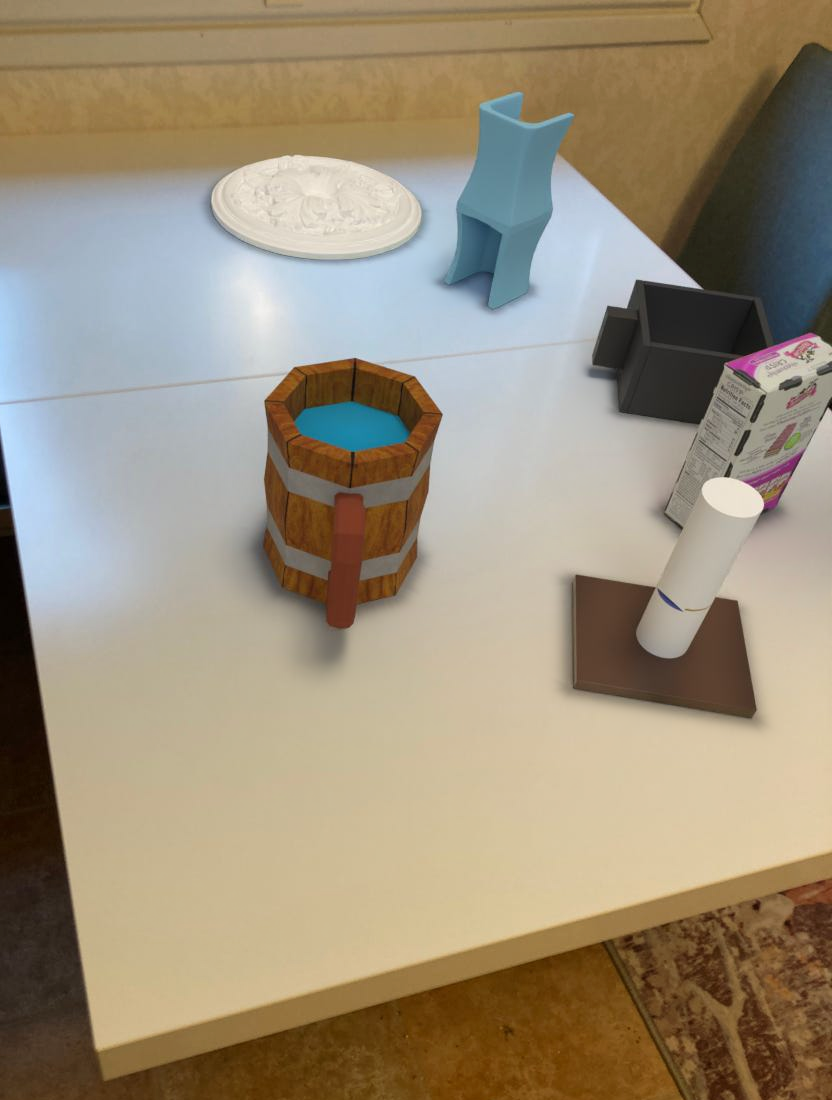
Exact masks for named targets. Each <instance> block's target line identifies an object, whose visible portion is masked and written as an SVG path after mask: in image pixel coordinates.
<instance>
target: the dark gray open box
mask: <svg viewBox="0 0 832 1100" xmlns="http://www.w3.org/2000/svg"><path fill="white" fill-rule="evenodd" d="M626 306H627V307H619V306H614V305H613V306H612V305H606V309H605V312H604V315H603V318H602V322H601V325H600V328H599V331H598V334H597V338H596V341H595V343H594V347H593V348H594V349H593V351H592V354H591V365H592V366H595V367H596V366H597V367H603V368H609V369H616V375H617V376H616V377H617V392H618V408H619V412H621V413H626V414H632V415H639V416H645V417H652V418H657V419H664V420H671V421H679V422H684V423H690V424H691V423H692V424H697V425H700V423H701V420H702V418H703V415H704V413H705V411H706V408H707V406H708V403H709V401H710V399H711V396H712V394H713V392H714V389H715V387H716V384H717V382H718V379H719V377H720V374H721V372H722V370H723V367H724V364H725V363H728V362H730V361H733V360H736V359H739V358H742V357H745V356H747V355H750V354H753V353H756V352H759V351H761V350H764V349H767V348H770V347H772V346H775V343H774V341H773V337H772V334H771V329H770V326H769V322H768V318H767V316H766V312H765V308H764V305H763V302H762V298H761V297H757V296H751V295H744V294H738V293H731V292H730V293H729V292H724V291H717V290H710V289H703V288H697V287H689V286H684V285H677V284H671V283H670V284H669V283H663V282H657V281H650V280H643V279H638V278H637V279H635V282H634V285H633V288H632V290H631V293H630V297H629V299H628V303H627V305H626Z"/></svg>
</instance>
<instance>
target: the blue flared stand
mask: <svg viewBox="0 0 832 1100" xmlns="http://www.w3.org/2000/svg"><path fill="white" fill-rule="evenodd" d="M523 101H524V93H523V92H521V91H515V92H512V93H509V94H506V95H503V96H499V97H496V98H494V99H493V98H492V99H490V100H487V101H484V102H481V103H480V104H479V106H478V118H479V121H478V122H479V123H478V125H479V126H478V127H479V128H478V129H479V130H478V132H479V133H478V146H477V152H476V158H475V161H474V165H473V168H472V171H471V173H470V176H469V178H468V180H467V182H466V184H465V186H464V188H463V190H462V191H461V194H460V195H459V197H458V199H457V202H456V208H455V211H456V212H455V213H456V225H457V227H456V228H457V229H456V230H457V233H456V234H457V237H456V239H457V240H456V247H455V253H454V256H453V260H452V263H451V266H450V269H449V271H448V273H447V275H446V277H445V279H444V284H446V285H448V286H450V285H453V284H455V283H457V282H459V281H461V280H463V279H465V278H467V277H470V276H472V275H474V274H476V273H479V272H482V273H483V272H485V273H491V274H493V276H492V277H493V278H492V282H491V288H490V293H489V297H488V303H487V307H488V308H489V309H491V310H496V309H497V308H500V307H501V306H503V305H505V304H507V303H509V302H511V301H513V300H515V299H517V298H520V297H521V296H524V295H526V294H527V293H528V292H529V290H530V275H531V268H532V264H533V263H532V262H533V259H534V254H535V252H536V249H537V246H538V244H539V242H540V240H541V237H542V236H543V233H544V232H545V230H546V228H547V226H548V225H549V222H550V220H551V218H552V216H553V211H554V206H553V198H552V197H553V196H552V173H553V167H554V163H555V160H556V157H557V154H558V152H559V150H560V147H561V144H562V141H563V139H564V138H565V136H566V134H567V132H568V130H569V128H570V126H571V124H572V123H573V120H574V119H575V115H576V114H575V113H571V112H566V113H564V114H560V115H558V116H555V117H551V118H549V119H546V120H543V121H540V122H536V123H533V122H525V121H522V120H521V121H520V117H521V112H522V107H523Z"/></svg>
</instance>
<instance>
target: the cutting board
mask: <svg viewBox="0 0 832 1100" xmlns="http://www.w3.org/2000/svg"><path fill="white" fill-rule="evenodd" d="M655 588H656V586H651V585H650V586H649V585H643V584H637V583H631V582H625V581H619V580H613V579H607V578H601V577H594V576H588V575H583V574H582V575H581V574H575V575H574V577H573V581H572V639H573V640H572V641H573V643H572V645H573V646H572V647H573V648H572V649H573V653H572V654H573V688H574V689H577V690H582V691H583V690H584V691H590V692H595V693H600V694H607V695H613V696H617V697H618V696H619V697H625V698H631V699H637V700H643V701H649V702H655V703H662V704H665V705H666V704H667V705H673V706H679V707H684V708H691V709H697V710H703V711H709V712H715V713H720V714H726V715H733V716H739V717H745V718H753V717H754V716H755V714H756V713H757V710H758V709H757V704H756V697H755V691H754V686H753V681H752V674H751V668H750V665H749V664H750V663H749V658H748V653H747V646H746V640H745V635H744V629H743V623H742V617H741V611H740V607H739V601H738V600H736V599H730V598H725V597H724V598H723V597H718V596H716V597H715V599H714V601H713V603H712V605H711V606H710V608H709V610H708V612H707V614H706V616H705V618H704V620H703V621H702V623H701V625H700V627H699V629H698V631H697V633H696V634H695V636H694V638H693V640H692V642H691V644H690V646H689V647H688V649H687V651H686V652H685V653H684V654H683V655H682V656H680V657H677V658H662V657H658V656H656V655H653V654H651V653H650V652H648V651H647V650H645V649H644V648H643V647H642V646H641V645H640V643H639V641H638V640H637V637H636V630H637V627H638V625H639V623H640V621H641V619H642V616H643V614H644V612H645V610H646V608H647V606H648V604H649V601H650V599H651V597H652V595H653V593H654V591H655Z"/></svg>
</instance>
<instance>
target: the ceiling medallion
mask: <svg viewBox="0 0 832 1100" xmlns="http://www.w3.org/2000/svg"><path fill="white" fill-rule="evenodd" d="M210 198H211V199H210V201H211V202H210V203H211V205H210V206H211V212H212V214H213V216H214V218H215V221H217V223H218V224H219V225H220V226H221V227H222V229H224V230H226V231H227V232H228V233H229V234H230V235H232V236H233V237H235V238H237V239H238V240H241V241H242V242H244V243H247V244H249V245H251V246H253V247H256V248H259V249H262V250H264V251H268V252H271V253H275V254H279V255H283V256H288V257H293V258H299V259H300V258H301V259H306V260H307V259H309V260H320V261H321V260H322V261H341V260H355V259H362V258H368V257H373V256H378V255H381V254H384V253H388V252H391V251H393V250H396V249H397V248H399V247H402V246H403V245H405V244H406V243H407V242H409V241H410V240H412V238H413V237H414V236H415V235H416V234H417V232H418V231H419V229H420V226H421V222H422V208H421V205H420V202H419V201H418V198H417V197H416V196H415V195H414V194H413V193H412V192H411V191H410V190H409V188H407V187H406V186H404V185H403V184H402V183H400V182H399V181H397V179H394V178H393V177H391V176H389V175H387V174H386V173H384V172H381V171H379V170H376V169H374V168H371V167H369V166H366V165H363V164H360V163H357V162H355V161H351V160H350V161H349V160H345V159H339V158H335V157H334V158H333V157H325V156H317V155H316V156H314V155H301V154H295V155H283V156H279V157H274V158H268V159H264V160H260V161H256V162H253V163H249V164H247V165H244V166H242V167H239V168H237V169H236V170H233V171H232V172H230V173H228V174H226V175H225V176H224V177H223V178H221V179H220V180H219V181H218V182H217V184H216V185H215V186H214V188H213V189H212V192H211V197H210Z"/></svg>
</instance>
